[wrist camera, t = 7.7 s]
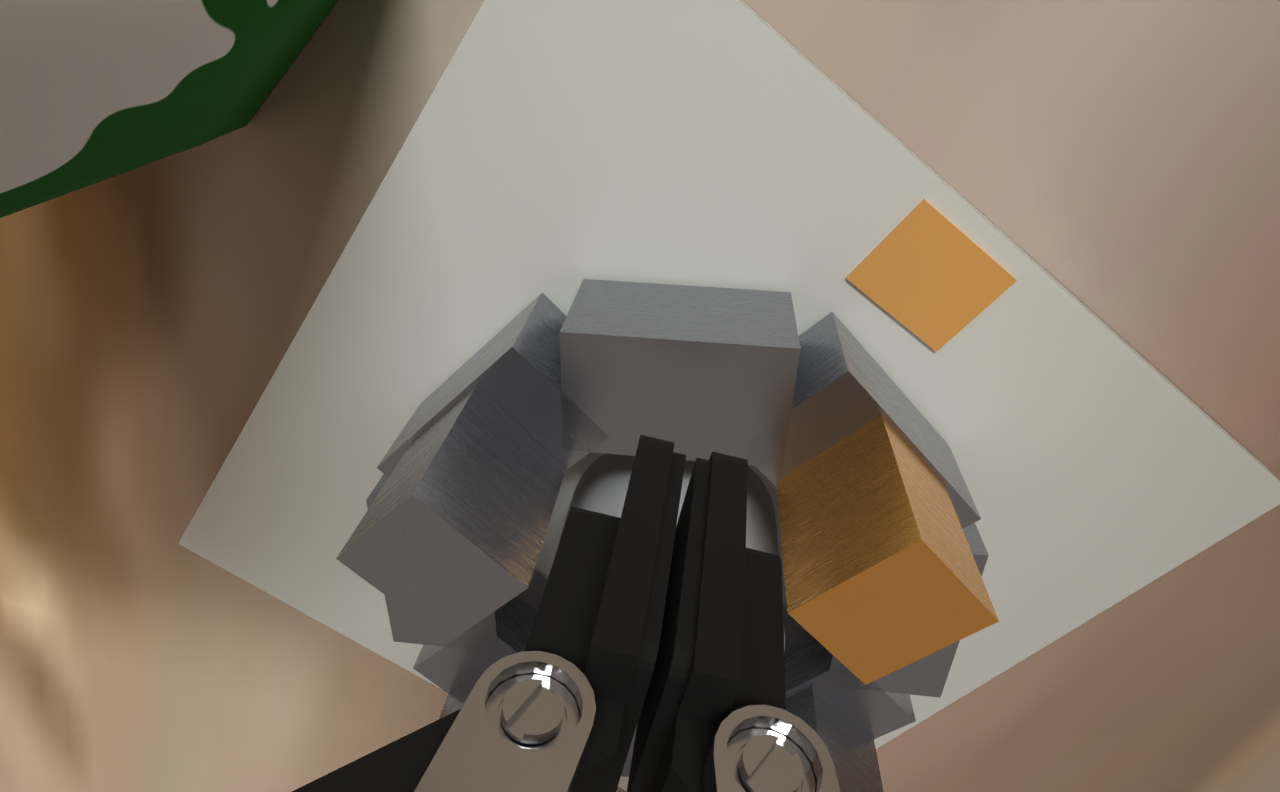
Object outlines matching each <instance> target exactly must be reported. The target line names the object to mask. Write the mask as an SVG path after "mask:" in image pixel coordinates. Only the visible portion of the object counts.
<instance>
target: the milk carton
mask: <svg viewBox="0 0 1280 792" xmlns="http://www.w3.org/2000/svg"><path fill="white" fill-rule="evenodd" d="M337 1H338V0H0V218H1V217H4V216H7V215H10V214H12V213H15V212H18V211H21V210H23V209H26V208H29V207H31V206H34V205H37V204H40V203H42V202H45V201H48V200H51V199H53V198H56V197H59V196H61V195H64V194H67V193H70V192H72V191H75V190H78V189H81V188H83V187H86V186H89V185H91V184H94V183H97V182H100V181H102V180H105V179H108V178H111V177H113V176H116V175H119V174H121V173H124V172H127V171H130V170H132V169H135V168H138V167H140V166H143V165H146V164H148V163H151V162H153V161H156V160H159V159H161V158H164V157H167V156H170V155H172V154H175V153H178V152H181V151H184V150H187V149H190V148H192V147H195V146H198V145H200V144H202V143H205V142H207V141H210V140H212V139H214V138H217V137H219V136H222V135H224V134H227V133H229V132H232V131H234V130H237V129H239V128H242V127H244V126H246V125H247V124H248V123H249V122H250V120H251V119H252V117H253V116H254V115H255V113H256V112H257V111H258V109H259V108H260V106H261V105H262V104H263V102H264V101H265V100H266V98H267V97H268V96H269V94H270V93H271V91H272V90H273V89H274V87H275V86H276V85H277V83H278V82H279V81H280V79H281V78H282V76H283V75H284V74H285V72H286V71H287V70H288V68H289V67H290V66H291V64H292V63H293V61H294V60H295V59H296V57H297V56H298V55H299V53H300V52H301V50H302V49H303V48H304V46H305V45H306V44H307V42H308V41H309V40H310V38H311V37H312V35H313V34H314V33H315V31H316V30H317V29H318V27H319V26H320V25H321V23H322V22H323V20H324V19H325V18H326V16H327V15H328V14H329V12H330V11H331V10H332V8H333V7H334V5H335V4H336V3H337Z"/></svg>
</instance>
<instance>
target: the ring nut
mask: <svg viewBox="0 0 1280 792" xmlns="http://www.w3.org/2000/svg"><path fill="white" fill-rule="evenodd" d="M640 434H641V435H645V436H649V437H654V438H658V439H662V440H666V441H671V442H674V450H673V452H676V453H680V454H685V455H686V460H691V461H695V460H696V458H702V459H706V460H709V458H710V455H711V453H712V452H718V453H722V454H726V455H730V456H735V457H739V458H743V459H747V460H748V465H752V466H755V467H756V468H757V469H758V470H759V471H760V472H761V473H762V474H763V475H764V476H765V477H766V478H767V479H768V480H769V481H770V482H771V483H772V484H773V485H774V486H775V487H776V488H777V495H778V507H779V519H780V531H781V543H782V555H783V567H784V579H785V591H786V603H787V606H786V607H784V608H783V620H784V633H785V652H784V656H785V691H786V711H788V712H790V713H792V714H794V715H795V716H797V717H799V718H801V719H802V720H803V721H804V722H805V723H807V724H808V725H809V726H810V727H811V728H812V729H813V730H814V731H816V733H817V734H818V735H819V737H820V738H821V740H822V741H823V743H824V744H825V745H826V747H827V748H828V751H829V753H830V756H831V759H832V761H833V764H834V766H835V771H836V775H837V779H838V784H839V788H840V792H883V787H882V782H881V776H880V771H879V765H878V760H877V754H876V748H875V743H874V739H876V738H878V737H881V736H883V735H885V734H888V733H890V732H892V731H894V730H897V729H899V728H901V727H904V726H906V725H908V724H910V723H913V722H915V721H916V719H915V715H914V711H913V707H912V703H911V698H910V695H920V696H930V697H939V698H940V697H941V694H942V691H943V689H944V686H945V683H946V680H947V677H948V674H949V671H950V668H951V665H952V662H953V659H954V656H955V653H956V650H957V647H958V644H959V642H960V640H961V639H963V638H965V637H968V636H970V635H972V634H974V633H976V632H978V631H980V630H982V629H984V628H987V627H989V626H991V625H993V624H995V623H997V622H999V620H998V618H997V615H996V612H995V610H994V607H993V605H992V602H991V600H990V597H989V595H988V592H987V590H986V587H985V585H984V582H983V580H982V574H983V571H984V568H985V565H986V562H987V559H988V556H989V555H988V552H987V550H986V548H985V545H984V543H983V541H982V538H981V536H980V533H979V531H978V529H977V526H976V524H975V522H977V521H979V520H981V517H980V515H979V513H978V511H977V508H976V506H975V504H974V501H973V499H972V497H971V495H970V492H969V490H968V488H967V485H966V483H965V481H964V478H963V476H962V474H961V472H960V469H959V467H958V465H957V462H956V460H955V458H954V456H953V453H952V451H951V449H950V446H949V445H948V444H947V442H946V441H945V440H944V439H943V438H942V437H941V436H940V434H939V433H938V432H937V431H936V430H935V429H934V428H933V426H932V425H931V424H930V423H929V422H928V421H927V420H926V418H925V417H924V416H923V415H922V414H921V413H920V412H919V410H918V409H917V408H916V407H915V406H914V405H913V404H912V402H911V401H910V400H909V399H908V398H907V397H906V395H905V394H904V393H903V392H902V391H901V390H900V389H899V387H898V386H897V385H896V384H895V383H894V382H893V381H892V379H891V378H890V377H889V376H888V375H887V374H886V373H885V371H884V370H883V369H882V368H881V367H880V366H879V365H878V363H877V362H876V361H875V360H874V359H873V358H872V357H871V355H870V354H869V353H868V352H867V351H866V350H865V349H864V347H863V346H862V345H861V344H860V343H859V342H858V341H857V339H856V338H855V337H854V336H853V335H852V334H851V333H850V331H849V330H848V329H847V328H846V327H845V326H844V324H843V323H842V322H841V321H840V320H839V319H838V318H837V316H836V315H835V314H834V313H833V312H831V313H829V314H828V315H827V316H825V317H824V318H823V319H821V320H820V321H818V322H817V323H816V324H814V325H813V326H812V327H810V328H809V329H807V330H806V331H805V332H803V333H802V334H801V335H799V336H798V331H797V325H796V319H795V313H794V308H793V302H792V296H791V292H780V291H764V290H749V289H733V288H718V287H702V286H687V285H671V284H655V283H640V282H624V281H609V280H593V279H583V281H582V283H581V285H580V288H579V290H578V292H577V294H576V297H575V299H574V301H573V303H572V305H571V308H570V310H569V312H568V314H567V316H566V315H565V314H564V313H563V312H562V311H561V310H560V309H559V308H558V307H557V306H556V305H555V304H554V303H553V302H552V301H551V300H550V299H549V298H548V297H546V296H545V295H544V294H543V293H541V294H540V295H539V296H538V297H537V298H536V299H534V300H533V301H532V302H531V303H530V304H529V305H528V306H527V307H526V308H525V309H524V310H522V311H521V312H520V313H519V314H518V315H517V316H516V317H515V318H514V319H513V320H511V321H510V322H509V323H508V324H507V325H506V326H505V327H504V328H503V329H502V330H501V331H499V332H498V333H497V334H496V335H495V336H494V337H493V338H492V339H491V340H490V341H489V342H487V343H486V344H485V345H484V346H483V347H482V348H481V349H480V350H479V351H478V352H476V353H475V354H474V355H473V356H472V357H471V358H470V359H469V360H468V361H467V362H466V363H464V364H463V365H462V366H461V367H460V368H459V369H458V370H457V371H456V372H455V373H454V374H452V375H451V376H450V377H449V378H448V379H447V380H446V381H445V382H444V383H443V384H441V385H440V386H439V387H438V388H437V389H436V390H435V391H434V392H433V393H432V394H431V395H429V396H428V397H427V398H426V399H425V400H424V401H423V402H422V403H421V404H420V405H419V406H418V408H417V409H416V411H415V412H414V414H413V415H412V417H411V418H410V420H409V421H408V422H407V424H406V425H405V427H404V428H403V430H402V431H401V433H400V434H399V436H398V437H397V439H396V440H395V441H394V443H393V444H392V446H391V447H390V449H389V450H388V452H387V453H386V455H385V456H384V457H383V459H382V460H381V462H380V463H379V465H378V466H377V469H379V470H380V471H381V472H382V473H384V474H383V476H382V477H381V479H380V480H379V482H378V483H377V485H376V486H375V488H374V489H373V491H372V492H371V494H370V495H369V497H368V498H367V500H366V503H367V508H368V510H367V512H366V513H365V515H364V517H363V518H362V520H361V521H360V523H359V524H358V526H357V527H356V529H355V530H354V532H353V533H352V535H351V537H350V538H349V540H348V541H347V543H346V544H345V546H344V547H343V549H342V550H341V552H340V553H339V555H338V557H337V558H336V559H337V560H338V561H340V562H341V563H342V564H344V565H345V566H346V567H348V568H349V569H350V570H352V571H353V572H355V573H356V574H357V575H359V576H360V577H361V578H363V579H364V580H365V581H367V582H368V583H369V584H371V585H372V586H373V587H375V588H376V589H377V590H379V591H380V592H381V593H383V594H384V595H385V600H386V605H387V610H388V616H389V621H390V626H391V631H392V636H393V641H394V642H403V643H412V644H422V645H423V647H422V649H421V651H420V653H419V656H418V658H417V660H416V662H415V665H414V667H413V669H415V670H416V671H417V672H419V673H420V674H422V675H423V676H424V677H426V678H427V679H429V680H430V681H431V682H433V683H434V684H436V685H437V686H438V687H440V688H441V689H443V690H444V691H445V692H447V693H448V697H447V699H446V702H445V704H444V707H443V710H442V712H441V715H440V718H439V719H441V718H443V717H445V716H447V715H449V714H451V713H453V712H455V711H457V710H460V709H461V708H462V707H463V705H464V703H465V701H466V700H467V698H468V696H469V694H470V693H471V691H472V689H473V687H474V686H475V684H476V682H477V681H478V679H479V678H480V677H481V676H482V674H483V673H484V672H485V671H486V669H487V668H488V667H489V666H491V665H492V664H494V663H495V662H497V661H498V660H500V659H501V658H503V657H505V656H508V655H511V654H515V653H518V652H521V651H525V648H526V645H527V642H528V638H529V635H530V632H531V629H532V626H533V623H534V620H535V617H536V614H537V611H538V608H539V604H540V601H541V598H542V595H543V592H544V589H545V586H546V583H547V581H546V580H545V579H544V578H543V577H542V576H540V575H539V574H538V573H537V572H535V571H534V568H535V565H536V562H537V559H538V556H539V553H540V549H541V546H542V543H543V540H544V537H545V534H546V531H547V527H548V524H549V521H550V518H551V515H552V512H553V509H554V505H555V502H556V499H557V496H558V493H559V490H560V487H561V484H562V480H563V477H564V474H565V471H566V470H568V469H569V468H570V467H572V466H573V465H574V464H576V463H577V462H578V461H579V460H581V459H582V458H583V457H585V456H586V455H587V454H589V453H590V452H593V453H605V454H618V455H630V456H635V455H636V451H637V447H638V442H639V438H640ZM636 728H637V726H636ZM635 735H636V729H635V733H634V736H633V739H632V742H631V745H630V749H629V752H628V755H627V758H626V761H625V765H624V768H623V771H622V774H621V776H623V777H629V773H630V767H631V761H632V754H633V748H634V741H635Z"/></svg>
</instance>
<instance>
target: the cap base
mask: <svg viewBox="0 0 1280 792" xmlns="http://www.w3.org/2000/svg"><path fill="white" fill-rule="evenodd" d="M583 279H593V280H609V281H624V282H640V283H655V284H671V285H687V286H702V287H718V288H733V289H749V290H764V291H780V292H791V296H792V302H793V308H794V313H795V319H796V325H797V331H798V336H799V335H801V334H802V333H803V332H805V331H806V330H807V329H809V328H810V327H812V326H813V325H814V324H816V323H817V322H818V321H820V320H821V319H823V318H824V317H825V316H827V315H828V314H829V313H831V312H833V313H834V314H835V315H836V316H837V318H838V319H839V320H840V321H841V322H842V323H843V324H844V326H845V327H846V328H847V329H848V330H849V331H850V333H851V334H852V335H853V336H854V337H855V338H856V339H857V341H858V342H859V343H860V344H861V345H862V346H863V347H864V349H865V350H866V351H867V352H868V353H869V354H870V355H871V357H872V358H873V359H874V360H875V361H876V362H877V363H878V365H879V366H880V367H881V368H882V369H883V370H884V371H885V373H886V374H887V375H888V376H889V377H890V378H891V379H892V381H893V382H894V383H895V384H896V385H897V386H898V387H899V389H900V390H901V391H902V392H903V393H904V394H905V395H906V397H907V398H908V399H909V400H910V401H911V402H912V404H913V405H914V406H915V407H916V408H917V409H918V410H919V412H920V413H921V414H922V415H923V416H924V417H925V418H926V420H927V421H928V422H929V423H930V424H931V425H932V426H933V428H934V429H935V430H936V431H937V432H938V433H939V434H940V436H941V437H942V438H943V439H944V440H945V441H946V442H947V444H948V445H949V446H950V449H951V451H952V453H953V456H954V458H955V460H956V462H957V465H958V467H959V469H960V472H961V474H962V476H963V478H964V481H965V483H966V485H967V488H968V490H969V492H970V495H971V497H972V499H973V501H974V504H975V506H976V508H977V511H978V513H979V515H980V517H981V520H979V521H977V522H975V524H976V526H977V529H978V531H979V533H980V536H981V538H982V541H983V543H984V545H985V548H986V550H987V552H988V555H989V556H988V559H987V562H986V565H985V568H984V571H983V574H982V580H983V582H984V585H985V587H986V590H987V592H988V595H989V597H990V600H991V602H992V605H993V607H994V610H995V612H996V615H997V618H998V620H999V622H997V623H995V624H993V625H991V626H989V627H987V628H984V629H982V630H980V631H978V632H976V633H974V634H972V635H970V636H968V637H965V638H963V639H961V640H960V642H959V644H958V647H957V650H956V653H955V656H954V659H953V662H952V665H951V668H950V671H949V674H948V677H947V680H946V683H945V686H944V689H943V691H942V694H941V697H940V698H939V697H930V696H920V695H910V698H911V703H912V707H913V711H914V715H915V719H916V721H915V722H913V723H910V724H908V725H906V726H904V727H901V728H899V729H897V730H894V731H892V732H890V733H888V734H885V735H883V736H881V737H878V738H876V739H874V743H875V748H876V749H877V748H879V747H880V746H882V745H884V744H885V743H887V742H889V741H890V740H892V739H894V738H895V737H897V736H898V735H900V734H902V733H903V732H905V731H907V730H908V729H910V728H912V727H913V726H915V725H917V724H918V723H920V722H922V721H923V720H925V719H926V718H928V717H930V716H931V715H933V714H935V713H936V712H938V711H940V710H941V709H943V708H945V707H946V706H948V705H950V704H951V703H953V702H954V701H956V700H958V699H959V698H961V697H963V696H964V695H966V694H968V693H969V692H971V691H973V690H974V689H976V688H978V687H979V686H981V685H983V684H984V683H986V682H987V681H989V680H991V679H992V678H994V677H996V676H997V675H999V674H1001V673H1002V672H1004V671H1006V670H1007V669H1009V668H1011V667H1012V666H1014V665H1015V664H1017V663H1019V662H1020V661H1022V660H1024V659H1025V658H1027V657H1029V656H1030V655H1032V654H1034V653H1035V652H1037V651H1039V650H1040V649H1042V648H1044V647H1045V646H1047V645H1048V644H1050V643H1052V642H1053V641H1055V640H1057V639H1058V638H1060V637H1062V636H1063V635H1065V634H1067V633H1068V632H1070V631H1072V630H1073V629H1075V628H1076V627H1078V626H1080V625H1081V624H1083V623H1085V622H1086V621H1088V620H1090V619H1091V618H1093V617H1095V616H1096V615H1098V614H1100V613H1101V612H1103V611H1104V610H1106V609H1108V608H1109V607H1111V606H1113V605H1114V604H1116V603H1118V602H1119V601H1121V600H1123V599H1124V598H1126V597H1128V596H1129V595H1131V594H1133V593H1134V592H1136V591H1137V590H1139V589H1141V588H1142V587H1144V586H1146V585H1147V584H1149V583H1151V582H1152V581H1154V580H1156V579H1157V578H1159V577H1161V576H1162V575H1164V574H1165V573H1167V572H1169V571H1170V570H1172V569H1174V568H1175V567H1177V566H1179V565H1180V564H1182V563H1184V562H1185V561H1187V560H1189V559H1190V558H1192V557H1193V556H1195V555H1197V554H1198V553H1200V552H1202V551H1203V550H1205V549H1207V548H1208V547H1210V546H1212V545H1213V544H1215V543H1217V542H1218V541H1220V540H1222V539H1223V538H1225V537H1226V536H1228V535H1230V534H1231V533H1233V532H1235V531H1236V530H1238V529H1240V528H1241V527H1243V526H1245V525H1246V524H1248V523H1250V522H1251V521H1253V520H1254V519H1256V518H1258V517H1259V516H1261V515H1263V514H1264V513H1266V512H1268V511H1269V510H1271V509H1273V508H1274V507H1276V506H1278V505H1279V504H1280V480H1279V479H1277V478H1276V477H1275V476H1274V475H1273V474H1272V473H1271V472H1270V471H1269V470H1268V469H1267V468H1266V467H1265V466H1264V465H1263V464H1262V463H1261V462H1260V461H1259V460H1258V459H1257V458H1255V457H1254V456H1253V455H1252V454H1251V453H1250V452H1249V451H1248V450H1246V449H1245V448H1244V447H1243V446H1242V445H1241V444H1240V443H1239V442H1237V441H1236V440H1235V439H1234V438H1233V437H1232V436H1231V435H1230V434H1228V433H1227V432H1226V431H1225V430H1224V429H1223V428H1222V427H1221V426H1220V425H1218V424H1217V423H1216V422H1215V421H1214V420H1213V419H1212V418H1211V417H1209V416H1208V415H1207V414H1206V413H1205V412H1204V411H1203V410H1202V409H1200V408H1199V407H1198V406H1197V405H1196V404H1195V403H1194V402H1193V401H1191V400H1190V399H1189V398H1188V397H1187V396H1186V395H1185V394H1184V393H1182V392H1181V391H1180V390H1179V389H1178V388H1177V387H1176V386H1175V385H1173V384H1172V383H1171V382H1170V381H1169V380H1168V379H1167V378H1166V377H1164V376H1163V375H1162V374H1161V373H1160V372H1159V371H1158V370H1157V369H1155V368H1154V367H1153V366H1152V365H1151V364H1150V363H1149V362H1148V361H1147V360H1145V359H1144V358H1143V357H1142V356H1141V355H1140V354H1139V353H1138V352H1136V351H1135V350H1134V349H1133V348H1132V347H1131V346H1130V345H1129V344H1127V343H1126V342H1125V341H1124V340H1123V339H1122V338H1121V337H1120V336H1118V335H1117V334H1116V333H1115V332H1114V331H1113V330H1112V329H1111V328H1109V327H1108V326H1107V325H1106V324H1105V323H1104V322H1103V321H1102V320H1100V319H1099V318H1098V317H1097V316H1096V315H1095V314H1094V313H1093V312H1091V311H1090V310H1089V309H1088V308H1087V307H1086V306H1085V305H1084V304H1082V303H1081V302H1080V301H1079V300H1078V299H1077V298H1076V297H1075V296H1074V295H1072V294H1071V293H1070V292H1069V291H1068V290H1067V289H1066V288H1065V287H1063V286H1062V285H1061V284H1060V283H1059V282H1058V281H1057V280H1056V279H1054V278H1053V277H1052V276H1051V275H1050V274H1049V273H1048V272H1047V271H1045V270H1044V269H1043V268H1042V267H1041V266H1040V265H1039V264H1038V263H1036V262H1035V261H1034V260H1033V259H1032V258H1031V257H1030V256H1029V255H1027V254H1026V253H1025V252H1024V251H1023V250H1022V249H1021V248H1020V247H1018V246H1017V245H1016V244H1015V243H1014V242H1013V241H1012V240H1011V239H1009V238H1008V237H1007V236H1006V235H1005V234H1004V233H1003V232H1002V231H1001V230H999V229H998V228H997V227H996V226H995V225H994V224H993V223H992V222H990V221H989V220H988V219H987V218H986V217H985V216H984V215H983V214H981V213H980V212H979V211H978V210H977V209H976V208H975V207H974V206H972V205H971V204H970V203H969V202H968V201H967V200H966V199H965V198H963V197H962V196H961V195H960V194H959V193H958V192H957V191H956V190H954V189H953V188H952V187H951V186H950V185H949V184H948V183H947V182H945V181H944V180H943V179H942V178H941V177H940V176H939V175H938V174H936V173H935V172H934V171H933V170H932V169H931V168H930V167H929V166H928V165H926V164H925V163H924V162H923V161H922V160H921V159H920V158H919V157H917V156H916V155H915V154H914V153H913V152H912V151H911V150H910V149H908V148H907V147H906V146H905V145H904V144H903V143H902V142H901V141H899V140H898V139H897V138H896V137H895V136H894V135H893V134H892V133H890V132H889V131H888V130H887V129H886V128H885V127H884V126H883V125H881V124H880V123H879V122H878V121H877V120H876V119H875V118H874V117H872V116H871V115H870V114H869V113H868V112H867V111H866V110H865V109H864V108H862V107H861V106H860V105H859V104H858V103H857V102H856V101H855V100H853V99H852V98H851V97H850V96H849V95H848V94H847V93H846V92H844V91H843V90H842V89H841V88H840V87H839V86H838V85H837V84H835V83H834V82H833V81H832V80H831V79H830V78H829V77H828V76H826V75H825V74H824V73H823V72H822V71H821V70H820V69H819V68H817V67H816V66H815V65H814V64H813V63H812V62H811V61H810V60H808V59H807V58H806V57H805V56H804V55H803V54H802V53H801V52H799V51H798V50H797V49H796V48H795V47H794V46H793V45H792V44H791V43H789V42H788V41H787V40H786V39H785V38H784V37H783V36H782V35H780V34H779V33H778V32H777V31H776V30H775V29H774V28H773V27H771V26H770V25H769V24H768V23H767V22H766V21H765V20H764V19H762V18H761V17H760V16H759V15H758V14H757V13H756V12H755V11H753V10H752V9H751V8H750V7H749V6H748V5H747V4H746V3H744V2H743V1H742V0H485V1H484V2H483V4H482V6H481V8H480V10H479V11H478V13H477V15H476V17H475V18H474V20H473V22H472V24H471V26H470V27H469V29H468V31H467V33H466V34H465V36H464V38H463V40H462V41H461V43H460V45H459V47H458V49H457V50H456V52H455V54H454V56H453V57H452V59H451V61H450V63H449V65H448V66H447V68H446V70H445V72H444V73H443V75H442V77H441V79H440V80H439V82H438V84H437V86H436V88H435V89H434V91H433V93H432V95H431V96H430V98H429V100H428V102H427V104H426V105H425V107H424V109H423V111H422V112H421V114H420V116H419V118H418V119H417V121H416V123H415V125H414V127H413V128H412V130H411V132H410V134H409V135H408V137H407V139H406V141H405V142H404V144H403V146H402V148H401V150H400V151H399V153H398V155H397V157H396V158H395V160H394V162H393V164H392V166H391V167H390V169H389V171H388V173H387V174H386V176H385V178H384V180H383V181H382V183H381V185H380V187H379V189H378V190H377V192H376V194H375V196H374V197H373V199H372V201H371V203H370V205H369V206H368V208H367V210H366V212H365V213H364V215H363V217H362V219H361V220H360V222H359V224H358V226H357V228H356V229H355V231H354V233H353V235H352V236H351V238H350V240H349V242H348V244H347V245H346V247H345V249H344V251H343V252H342V254H341V256H340V258H339V259H338V261H337V263H336V265H335V267H334V268H333V270H332V272H331V274H330V275H329V277H328V279H327V281H326V282H325V284H324V286H323V288H322V290H321V291H320V293H319V295H318V297H317V298H316V300H315V302H314V304H313V306H312V307H311V309H310V311H309V313H308V314H307V316H306V318H305V320H304V321H303V323H302V325H301V327H300V329H299V330H298V332H297V334H296V336H295V337H294V339H293V341H292V343H291V345H290V346H289V348H288V350H287V352H286V353H285V355H284V357H283V359H282V360H281V362H280V364H279V366H278V368H277V369H276V371H275V373H274V375H273V376H272V378H271V380H270V382H269V384H268V385H267V387H266V389H265V391H264V392H263V394H262V396H261V398H260V399H259V401H258V403H257V405H256V407H255V408H254V410H253V412H252V414H251V415H250V417H249V419H248V421H247V422H246V424H245V426H244V428H243V430H242V431H241V433H240V435H239V437H238V438H237V440H236V442H235V444H234V446H233V447H232V449H231V451H230V453H229V454H228V456H227V458H226V460H225V461H224V463H223V465H222V467H221V469H220V470H219V472H218V474H217V476H216V477H215V479H214V481H213V483H212V485H211V486H210V488H209V490H208V492H207V493H206V495H205V497H204V499H203V500H202V502H201V504H200V506H199V508H198V509H197V511H196V513H195V515H194V516H193V518H192V520H191V522H190V523H189V525H188V527H187V529H186V531H185V532H184V534H183V536H182V538H181V539H180V541H179V543H178V544H179V545H181V546H183V547H185V548H186V549H188V550H190V551H192V552H194V553H195V554H197V555H199V556H201V557H203V558H205V559H206V560H208V561H210V562H212V563H214V564H215V565H217V566H219V567H221V568H223V569H224V570H226V571H228V572H230V573H232V574H234V575H235V576H237V577H239V578H241V579H243V580H244V581H246V582H248V583H250V584H252V585H253V586H255V587H257V588H259V589H261V590H263V591H264V592H266V593H268V594H270V595H272V596H273V597H275V598H277V599H279V600H281V601H282V602H284V603H286V604H288V605H290V606H292V607H293V608H295V609H297V610H299V611H301V612H302V613H304V614H306V615H308V616H310V617H311V618H313V619H315V620H317V621H319V622H321V623H322V624H324V625H326V626H328V627H330V628H331V629H333V630H335V631H337V632H339V633H340V634H342V635H344V636H346V637H348V638H350V639H351V640H353V641H355V642H357V643H359V644H360V645H362V646H364V647H366V648H368V649H369V650H371V651H373V652H375V653H377V654H379V655H380V656H382V657H384V658H386V659H388V660H389V661H391V662H393V663H395V664H397V665H398V666H400V667H402V668H404V669H406V670H408V671H409V672H411V673H413V674H415V675H417V676H418V677H420V678H422V679H424V680H426V681H427V682H429V683H431V684H433V685H435V686H437V685H436V684H434V683H433V682H431V681H430V680H429V679H427V678H426V677H424V676H423V675H422V674H420V673H419V672H417V671H416V670H415V669H413V667H414V665H415V662H416V660H417V658H418V656H419V653H420V651H421V649H422V647H423V645H422V644H412V643H403V642H394V641H393V636H392V631H391V626H390V621H389V616H388V610H387V605H386V600H385V595H384V594H383V593H381V592H380V591H379V590H377V589H376V588H375V587H373V586H372V585H371V584H369V583H368V582H367V581H365V580H364V579H363V578H361V577H360V576H359V575H357V574H356V573H355V572H353V571H352V570H350V569H349V568H348V567H346V566H345V565H344V564H342V563H341V562H340V561H338V560H337V559H336V558H337V557H338V555H339V553H340V552H341V550H342V549H343V547H344V546H345V544H346V543H347V541H348V540H349V538H350V537H351V535H352V533H353V532H354V530H355V529H356V527H357V526H358V524H359V523H360V521H361V520H362V518H363V517H364V515H365V513H366V512H367V510H368V508H367V503H366V500H367V498H368V497H369V495H370V494H371V492H372V491H373V489H374V488H375V486H376V485H377V483H378V482H379V480H380V479H381V477H382V476H383V474H384V473H382V472H381V471H380V470H379V469H377V466H378V465H379V463H380V462H381V460H382V459H383V457H384V456H385V455H386V453H387V452H388V450H389V449H390V447H391V446H392V444H393V443H394V441H395V440H396V439H397V437H398V436H399V434H400V433H401V431H402V430H403V428H404V427H405V425H406V424H407V422H408V421H409V420H410V418H411V417H412V415H413V414H414V412H415V411H416V409H417V408H418V406H419V405H420V404H421V403H422V402H423V401H424V400H425V399H426V398H427V397H428V396H429V395H431V394H432V393H433V392H434V391H435V390H436V389H437V388H438V387H439V386H440V385H441V384H443V383H444V382H445V381H446V380H447V379H448V378H449V377H450V376H451V375H452V374H454V373H455V372H456V371H457V370H458V369H459V368H460V367H461V366H462V365H463V364H464V363H466V362H467V361H468V360H469V359H470V358H471V357H472V356H473V355H474V354H475V353H476V352H478V351H479V350H480V349H481V348H482V347H483V346H484V345H485V344H486V343H487V342H489V341H490V340H491V339H492V338H493V337H494V336H495V335H496V334H497V333H498V332H499V331H501V330H502V329H503V328H504V327H505V326H506V325H507V324H508V323H509V322H510V321H511V320H513V319H514V318H515V317H516V316H517V315H518V314H519V313H520V312H521V311H522V310H524V309H525V308H526V307H527V306H528V305H529V304H530V303H531V302H532V301H533V300H534V299H536V298H537V297H538V296H539V295H540V294H541V293H543V294H544V295H545V296H546V297H548V298H549V299H550V300H551V301H552V302H553V303H554V304H555V305H556V306H557V307H558V308H559V309H560V310H561V311H562V312H563V313H564V314H565V315H566V316H567V314H568V312H569V310H570V308H571V305H572V303H573V301H574V299H575V297H576V294H577V292H578V290H579V288H580V285H581V283H582V281H583ZM634 459H635V456H630V455H618V454H605V453H593V452H590V453H589V454H587V455H586V456H585V457H583V458H582V459H581V460H579V461H578V462H577V463H576V464H574V465H573V466H572V467H570V468H569V469H568V470H566V471H565V474H564V477H563V480H562V484H561V487H560V490H559V493H558V496H557V499H556V502H555V505H554V509H553V512H552V515H551V518H550V521H549V524H548V527H547V531H546V534H545V537H544V540H543V543H542V546H541V549H540V553H539V556H538V559H537V562H536V565H535V568H534V571H535V572H537V573H538V574H539V575H540V576H542V577H543V578H544V579H545V580H546V581H547V580H548V577H549V574H550V570H551V567H552V564H553V561H554V558H555V555H556V552H557V549H558V546H559V543H560V540H561V536H562V533H563V530H564V527H565V524H566V521H567V518H568V515H569V512H570V509H571V508H572V507H577V508H581V509H585V510H589V511H594V512H598V513H602V514H606V515H610V516H615V517H619V518H621V515H622V510H623V506H624V502H625V498H626V493H627V489H628V485H629V481H630V476H631V472H632V468H633V464H634ZM694 464H695V461H691V460H686V461H685V468H684V475H683V482H682V489H681V496H680V503H679V510H678V517H677V522H678V519H679V515H680V512H681V508H682V505H683V501H684V498H685V494H686V491H687V488H688V484H689V481H690V477H691V474H692V470H693V467H694ZM676 526H677V524H676ZM746 548H750V549H754V550H759V551H763V552H767V553H771V554H776V555H779V556H780V558H781V563H782V586H783V608H784V607H786V606H787V603H786V591H785V579H784V567H783V555H782V543H781V531H780V519H779V507H778V495H777V488H776V487H775V486H774V485H773V484H772V483H771V482H770V481H769V480H768V479H767V478H766V477H765V476H764V475H763V474H762V473H761V472H760V471H759V470H758V469H757V468H756V467H755V466H752V465H748V483H747V519H746ZM783 621H784V620H783ZM784 652H785V633H784ZM437 687H438V686H437ZM438 688H440V687H438ZM440 689H441V688H440ZM442 690H443V689H442ZM628 780H629V777H623V776H621V777H620V781H619V784H618V787H620V788H621V789H623V790H625V791H627V786H628Z"/></svg>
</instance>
